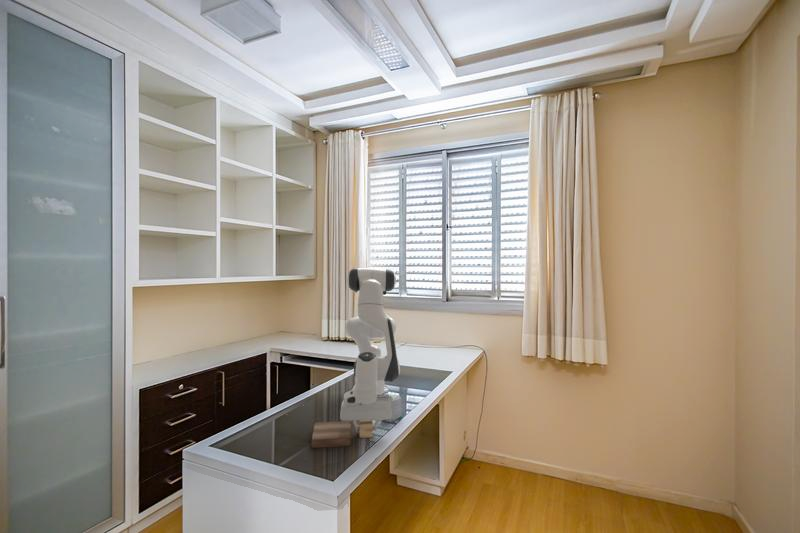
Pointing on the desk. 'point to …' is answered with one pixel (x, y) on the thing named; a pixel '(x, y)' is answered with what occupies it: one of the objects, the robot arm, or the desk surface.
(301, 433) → the desk surface
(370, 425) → the oak cube
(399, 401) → the medicine box
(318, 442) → the block
